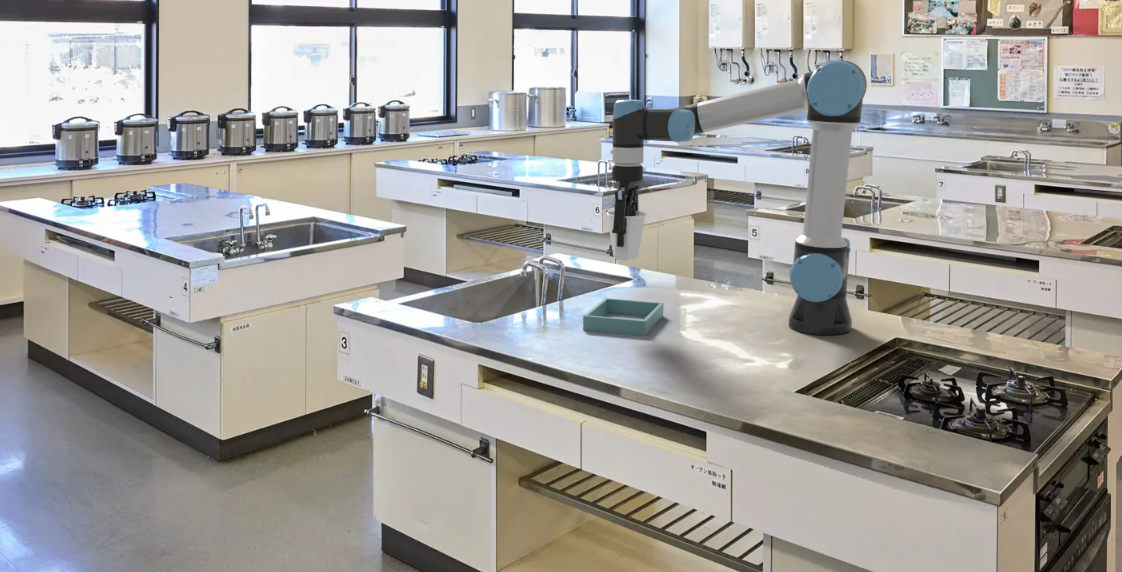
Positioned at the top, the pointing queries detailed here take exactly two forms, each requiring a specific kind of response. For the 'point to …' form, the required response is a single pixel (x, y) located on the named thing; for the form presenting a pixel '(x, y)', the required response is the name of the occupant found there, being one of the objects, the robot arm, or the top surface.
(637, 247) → the cup
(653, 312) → the walled box
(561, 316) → the top surface
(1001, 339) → the top surface
